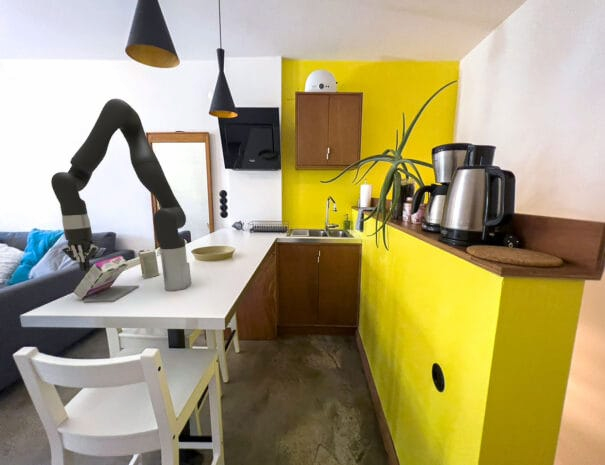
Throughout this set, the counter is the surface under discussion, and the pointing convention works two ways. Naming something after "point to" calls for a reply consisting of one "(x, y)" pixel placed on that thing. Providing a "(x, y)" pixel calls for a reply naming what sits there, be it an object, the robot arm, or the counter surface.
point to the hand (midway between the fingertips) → (85, 270)
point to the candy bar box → (100, 277)
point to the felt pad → (111, 294)
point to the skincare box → (148, 264)
